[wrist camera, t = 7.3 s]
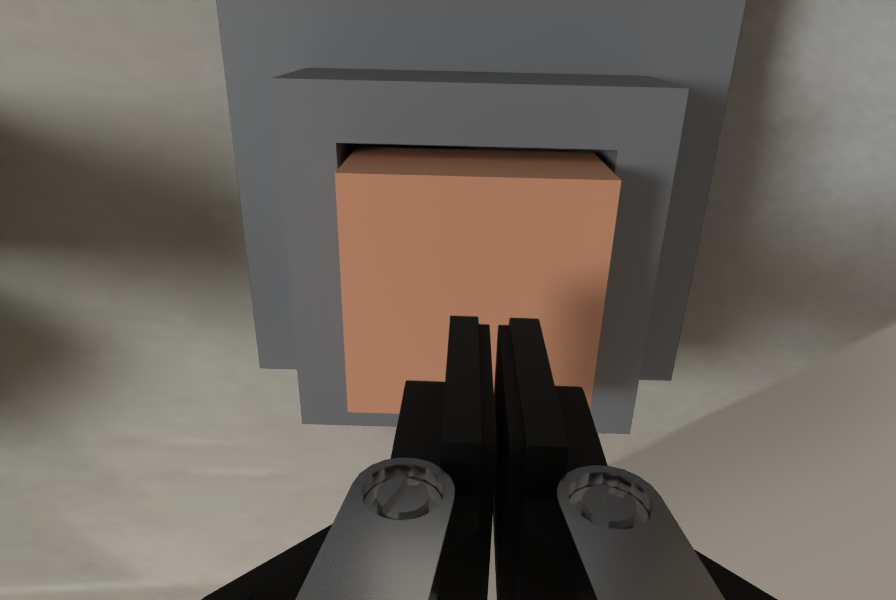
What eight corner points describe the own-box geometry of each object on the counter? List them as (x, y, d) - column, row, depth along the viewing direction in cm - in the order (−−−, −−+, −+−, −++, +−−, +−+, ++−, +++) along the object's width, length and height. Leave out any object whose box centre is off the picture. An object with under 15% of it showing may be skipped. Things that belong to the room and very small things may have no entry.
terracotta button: (357, 146, 16) (335, 172, 13) (593, 152, 16) (621, 180, 13) (364, 353, 18) (347, 412, 15) (569, 359, 18) (588, 419, 15)
